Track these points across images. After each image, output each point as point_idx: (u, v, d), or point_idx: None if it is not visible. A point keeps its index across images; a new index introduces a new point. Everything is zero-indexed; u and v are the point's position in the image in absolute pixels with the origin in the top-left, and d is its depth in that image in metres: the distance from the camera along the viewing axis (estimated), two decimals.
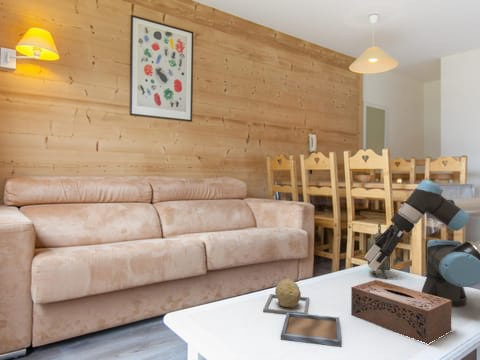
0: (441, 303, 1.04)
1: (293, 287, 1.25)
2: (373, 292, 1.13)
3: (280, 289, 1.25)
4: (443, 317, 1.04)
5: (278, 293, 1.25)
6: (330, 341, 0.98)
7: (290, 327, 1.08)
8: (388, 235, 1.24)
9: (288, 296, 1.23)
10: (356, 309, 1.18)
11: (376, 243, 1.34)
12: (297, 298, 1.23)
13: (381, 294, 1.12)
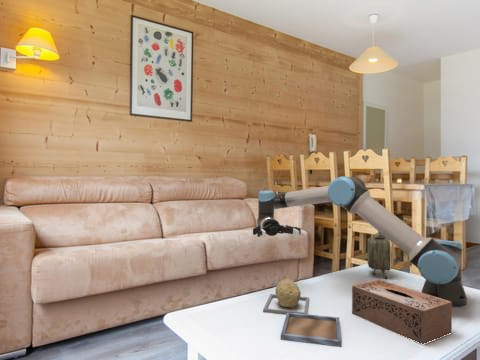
0: (440, 304, 1.03)
1: (293, 287, 1.25)
2: (372, 291, 1.14)
3: (280, 289, 1.25)
4: (442, 318, 1.03)
5: (278, 293, 1.25)
6: (330, 341, 0.98)
7: (290, 327, 1.08)
8: (267, 233, 1.49)
9: (288, 296, 1.23)
10: (357, 308, 1.19)
11: None
12: (297, 298, 1.23)
13: (380, 293, 1.12)
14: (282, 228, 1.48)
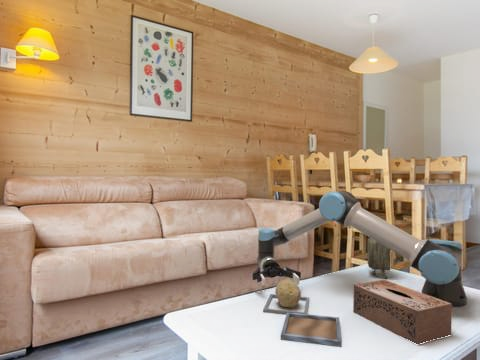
0: (437, 305, 1.03)
1: (293, 287, 1.25)
2: (372, 291, 1.15)
3: (280, 289, 1.25)
4: (439, 319, 1.02)
5: (278, 293, 1.25)
6: (330, 341, 0.98)
7: (290, 327, 1.08)
8: (267, 276, 1.48)
9: (288, 296, 1.23)
10: (357, 307, 1.20)
11: None
12: (297, 298, 1.23)
13: (379, 293, 1.13)
14: (282, 271, 1.47)
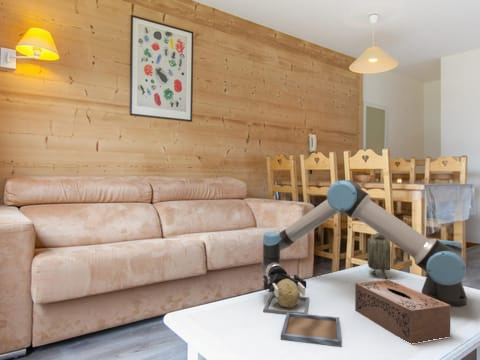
0: (435, 306, 1.02)
1: (292, 287, 1.24)
2: (372, 290, 1.16)
3: (279, 289, 1.25)
4: (436, 320, 1.01)
5: None
6: (330, 341, 0.98)
7: (290, 327, 1.08)
8: (275, 285, 1.36)
9: (287, 296, 1.23)
10: (359, 305, 1.21)
11: None
12: (296, 298, 1.23)
13: (378, 292, 1.14)
14: None
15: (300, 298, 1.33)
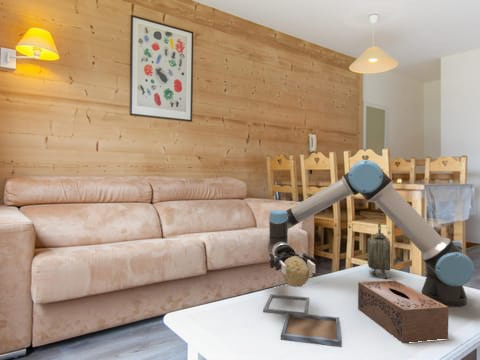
0: (430, 307, 1.01)
1: (301, 264, 1.13)
2: (372, 289, 1.17)
3: (287, 266, 1.14)
4: (432, 321, 1.01)
5: None
6: (330, 341, 0.98)
7: (290, 327, 1.08)
8: None
9: (296, 274, 1.12)
10: (361, 304, 1.23)
11: None
12: (305, 276, 1.12)
13: (378, 291, 1.15)
14: None
15: (300, 298, 1.33)
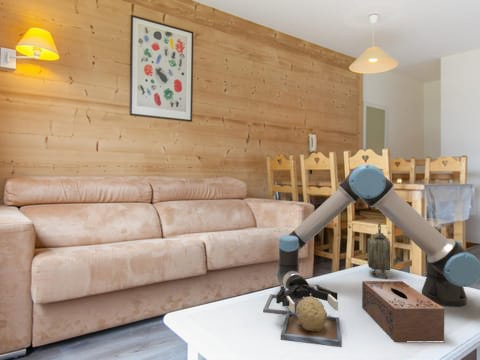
0: (425, 307, 1.01)
1: (318, 307, 1.05)
2: (373, 288, 1.18)
3: (303, 309, 1.05)
4: (426, 322, 1.00)
5: (300, 314, 1.05)
6: (330, 341, 0.98)
7: (290, 327, 1.08)
8: None
9: (313, 318, 1.03)
10: (364, 303, 1.24)
11: None
12: (323, 320, 1.04)
13: (378, 290, 1.16)
14: (313, 291, 1.16)
15: (300, 298, 1.33)
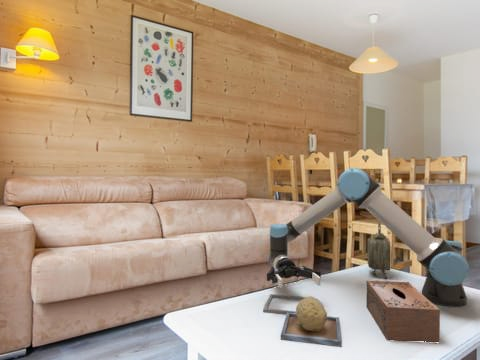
0: (419, 308, 1.01)
1: (318, 307, 1.05)
2: (374, 287, 1.19)
3: (303, 309, 1.05)
4: (420, 322, 1.00)
5: (300, 314, 1.05)
6: (330, 341, 0.98)
7: (290, 327, 1.08)
8: None
9: (313, 318, 1.03)
10: (368, 302, 1.25)
11: None
12: (323, 320, 1.04)
13: (378, 289, 1.16)
14: (299, 271, 1.31)
15: (300, 298, 1.33)
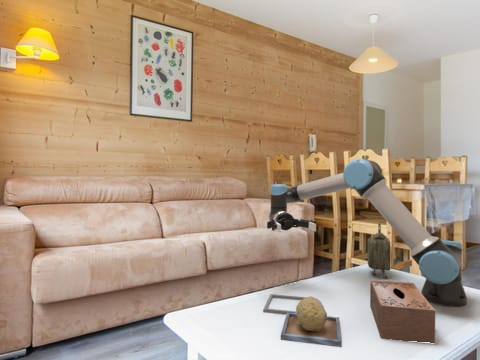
0: (414, 307, 1.01)
1: (318, 307, 1.05)
2: (376, 286, 1.19)
3: (303, 309, 1.05)
4: (415, 322, 1.00)
5: (300, 314, 1.05)
6: (330, 341, 0.98)
7: (290, 327, 1.08)
8: (281, 227, 1.43)
9: (313, 318, 1.03)
10: (371, 301, 1.25)
11: (309, 227, 1.39)
12: (323, 320, 1.04)
13: (379, 289, 1.17)
14: (297, 222, 1.43)
15: (300, 298, 1.33)
